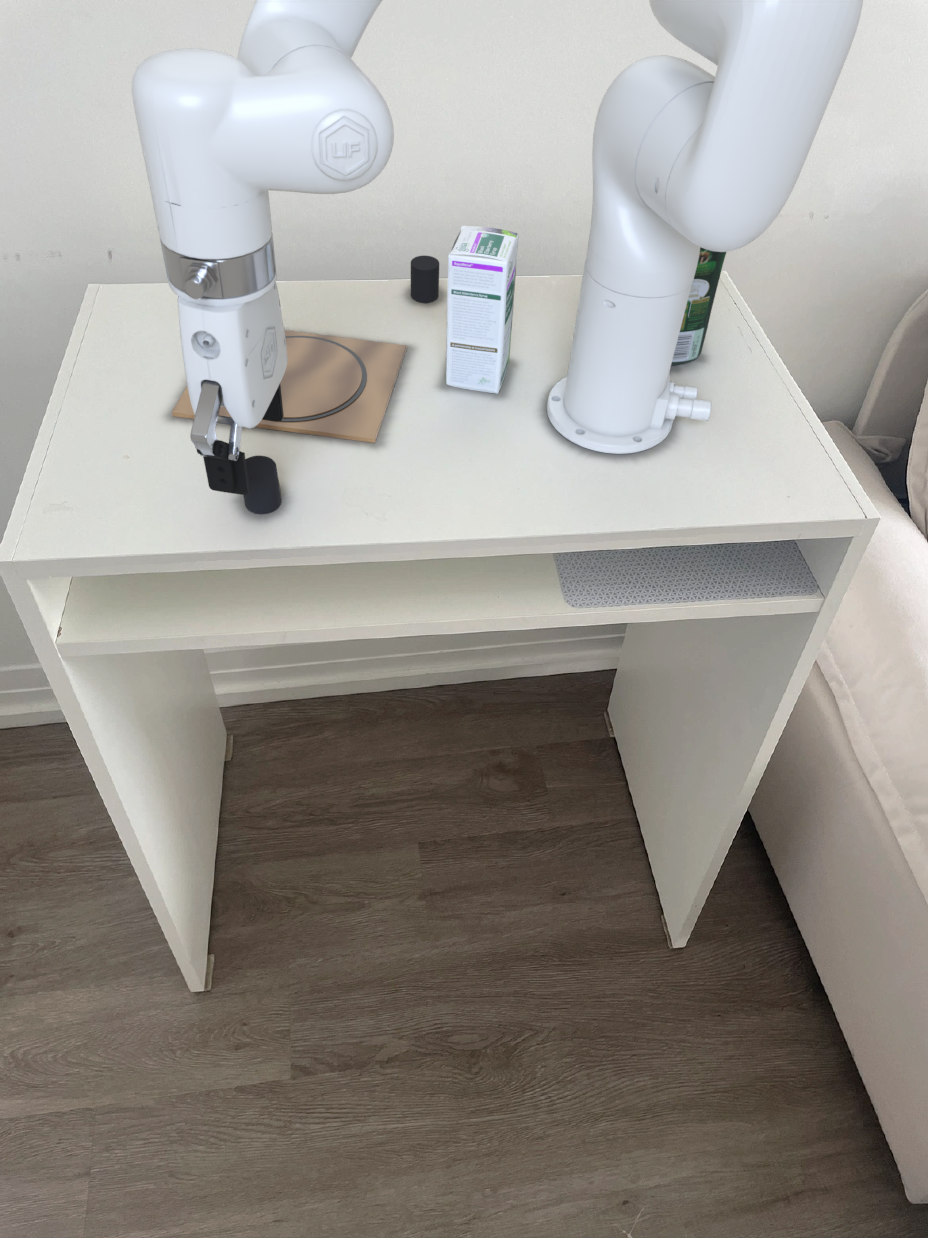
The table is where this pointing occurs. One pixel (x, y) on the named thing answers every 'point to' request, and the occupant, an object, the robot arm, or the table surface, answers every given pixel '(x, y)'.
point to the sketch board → (330, 387)
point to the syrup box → (480, 307)
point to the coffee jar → (698, 306)
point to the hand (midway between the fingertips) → (248, 452)
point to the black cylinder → (424, 279)
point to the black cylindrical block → (262, 485)
